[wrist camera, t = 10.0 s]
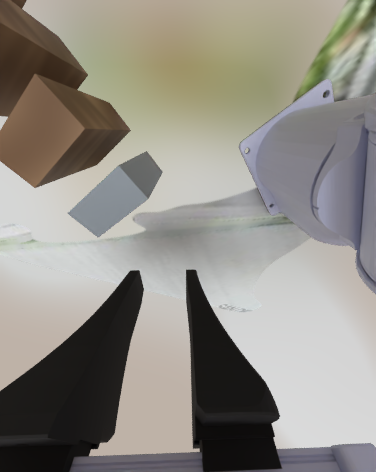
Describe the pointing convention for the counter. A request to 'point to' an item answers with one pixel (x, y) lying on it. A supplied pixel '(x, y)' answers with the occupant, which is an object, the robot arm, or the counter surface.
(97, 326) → the robot arm
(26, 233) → the counter surface
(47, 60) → the walnut domino
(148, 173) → the slate domino
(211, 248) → the counter surface
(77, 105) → the walnut domino
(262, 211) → the counter surface
